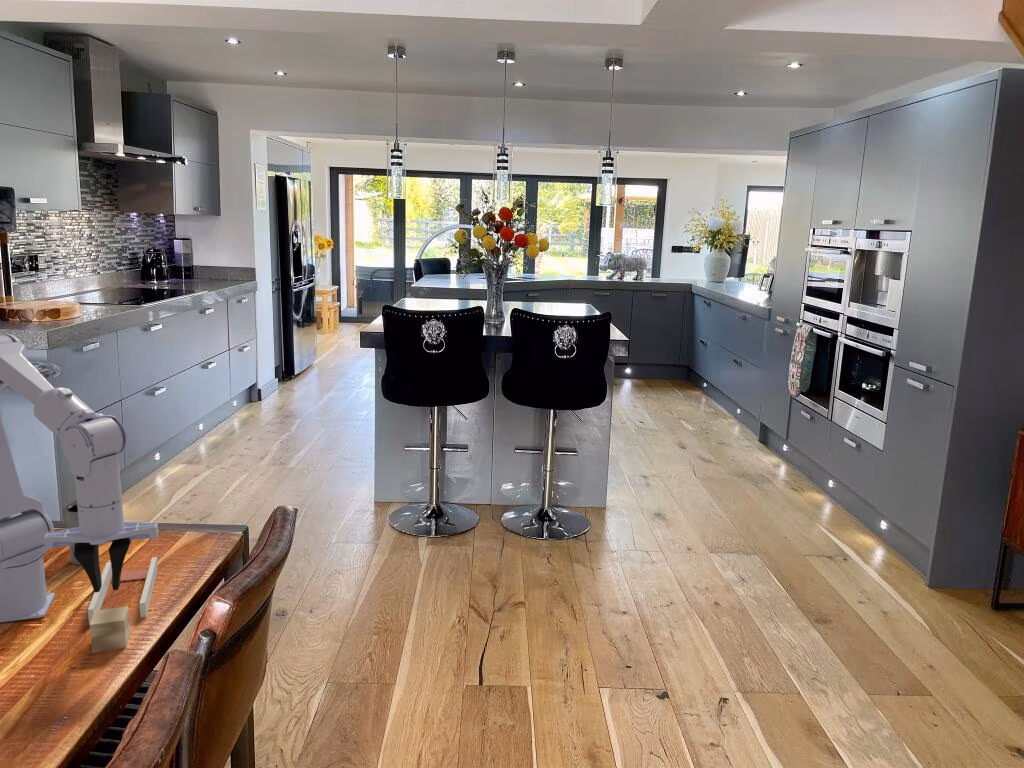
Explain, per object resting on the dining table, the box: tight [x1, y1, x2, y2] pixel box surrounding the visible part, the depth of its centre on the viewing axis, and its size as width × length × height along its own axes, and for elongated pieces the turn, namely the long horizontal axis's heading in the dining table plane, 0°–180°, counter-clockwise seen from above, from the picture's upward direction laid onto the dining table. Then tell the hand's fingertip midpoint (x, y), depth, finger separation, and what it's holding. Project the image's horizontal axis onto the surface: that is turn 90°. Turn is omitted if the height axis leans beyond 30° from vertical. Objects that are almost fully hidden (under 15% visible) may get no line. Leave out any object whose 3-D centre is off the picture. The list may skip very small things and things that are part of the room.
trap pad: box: [110, 568, 149, 584], centre depth 136 cm, size 6×4×1 cm, turn 109°
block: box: [89, 605, 131, 653], centre depth 114 cm, size 4×4×4 cm
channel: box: [87, 556, 159, 625], centre depth 129 cm, size 8×18×2 cm, turn 19°
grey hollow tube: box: [65, 503, 81, 566], centre depth 141 cm, size 4×4×10 cm
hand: (107, 588), depth 114 cm, fingers closed
